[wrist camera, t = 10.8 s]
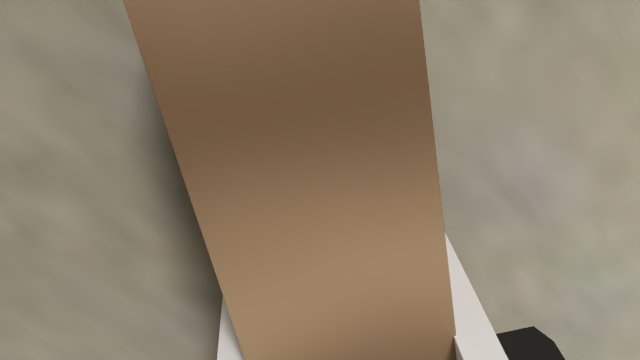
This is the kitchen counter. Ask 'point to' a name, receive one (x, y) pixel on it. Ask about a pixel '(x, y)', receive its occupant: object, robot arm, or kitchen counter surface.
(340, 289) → the walnut stick
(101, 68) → the kitchen counter surface
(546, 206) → the kitchen counter surface
